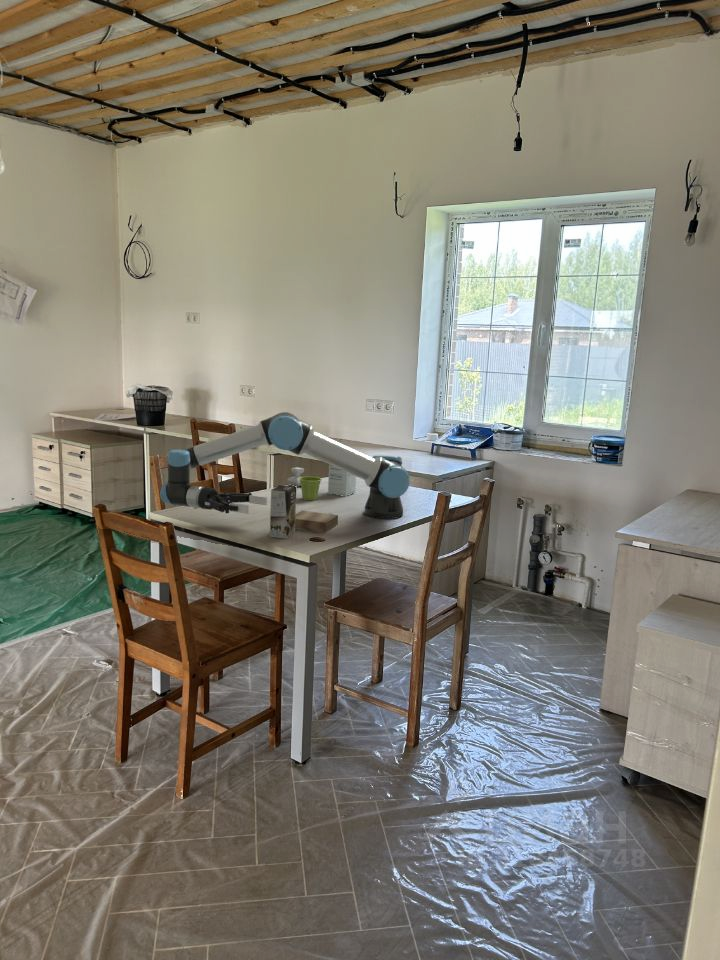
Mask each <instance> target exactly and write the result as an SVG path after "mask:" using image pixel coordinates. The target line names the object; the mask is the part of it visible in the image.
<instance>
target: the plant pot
mask: <svg viewBox="0 0 720 960" xmlns="http://www.w3.org/2000/svg"><path fill="white" fill-rule="evenodd" d="M322 479H323V478H321V477H318V476H301V478H299V480H300V483H301V487H300V488H301V489H300V490H301V498H302V499H303V500H304V501H309V500H310V501H316V500H318V495H319V490H320V484H321V482H322Z"/></svg>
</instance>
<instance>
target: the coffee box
mask: <svg viewBox="0 0 720 960" xmlns="http://www.w3.org/2000/svg"><path fill="white" fill-rule="evenodd" d="M270 491H271V492H270V514H269V515H270V516H269V517H270V519H269V521H270V523H269V537H270V538H278V539H279V538H280V539H285V540H286V539H288V538H290V537H291V536H292V535H294V533H295V532H296V529H295V516H296V514H297V513H296V510H297V508H296V507H297V506H296V505H297V487H295V486H291V485H278V486H276V487H274V488H272V489H271V490H270Z"/></svg>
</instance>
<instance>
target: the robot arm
mask: <svg viewBox="0 0 720 960" xmlns="http://www.w3.org/2000/svg"><path fill="white" fill-rule="evenodd" d="M264 445H266V446H271V445H272V446H274V447H275V448H277V449H279V450H283V451H289V452H291V453H293V454H295V455H297V456H300V455H302V454H306V455H307V456H310V457H313V458H315V459H317V460H319V461H320V462H324V463H325V464H328V465H329V464H330V465H332V466H334V467H336V468H339V469H341V470H343V471H345V472H348V473H350V474H352V475H354V476H356V478H359V479H361V480H363V481H364V483H365V485H366V487H369V495H368V497H367V500H366V502H365V505H364V510H363V512H364V514H365V515H366V514H367V515H366V516H368V515H370V516H369V517H371V516H373V517H372V518H376V517H378V518H377V519H397V518H396V517H398V518H401V517H403V516H404V507H403V503H402V499H401V496H403V495H404V494H405V493H406V492H407V491H408V489H409V488H410V484H411V483H410V481H411V479H410V475H409V472H408V471H407V470H406V468H405V467H403V466H402V465H403V458H402V456H399V455H382V454H381V455H373V456H369V455H367V454H366V453H362V452H360V451H358V450H356V449H354V448H351V447H350V446H348V445H345V444H343V443H342V442H339V441H337V440H334V439H332V438H330V437H328V436H327V435H324V434H321V433H319V432H317V431H315V430H314V427H313V425H312V424H309V423H307V422H305V421H304V420H300V419H299V418H298V417H297V416H295V415H294V414H293V413H291V412H288V411H286V412H285V411H283V412H278V413H277V414H275V415H273V416H271V417H268V418H266V419H263V420H260V421H259V423H258V424H257V425H254V426H249V427H248V428H245V429H242V430H239V431H236V432H233V433H230V434H227V435H224V436H221V437H218V438H215V439H211V440H208V441H206V442H204V443H201V444H200V443H199V444H197V445H194V446H191V447H189V448H183V449H172V450H169V451H168V452H167V459H166V462H167V482H165V483H164V484H163V485H162V486H161V488H160V492H159V496H160V500H161V501H162V502H163V503H165V504H168V505H169V504H170V505H172V506H180V507H181V506H182V507H189V508H194V510H197V509H202V510H207V511H208V510H211V511H212V510H215V511H218V512H220V513H224V512H225V514H230V512H234V513H240V514H241V513H242V514H249V504H254V505H263V506H267V505H268V497H267V496H260V495H254V494H253V493H251V492H247V493H242V492H241V493H240V492H237V493H236V492H227V491H226V492H222V493H219V494H218V492H217V490H216V489H215V488H213V487H205V486H198V485H191V484H190V482H191V480H190V479H191V478H190V476H191V474H190V473H191V470H193V469H195V468H198V467H200V466H203V465H207V464H210V463H212V462H215V461H218V460H221V459H224V458H227V457H231V456H233V455H237V454H239V453H242V452H245V451H248V450H251V449H254V448H258V447H261V446H264ZM243 503H248V504H243ZM402 515H403V516H402ZM400 516H401V517H400Z"/></svg>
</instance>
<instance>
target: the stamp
mask: <svg viewBox="0 0 720 960" xmlns="http://www.w3.org/2000/svg"><path fill="white" fill-rule="evenodd" d="M304 471H305V468H303V467H297V466H296V467H292V468H291V473H293V474H294V476H291V477H290V476H289V477H288V478H287V479H286V480H287V483H288V484H289V486H291V485H294V486H301V483H300V480H299V478H301V477H302V476H301V474H303V473H304Z"/></svg>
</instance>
